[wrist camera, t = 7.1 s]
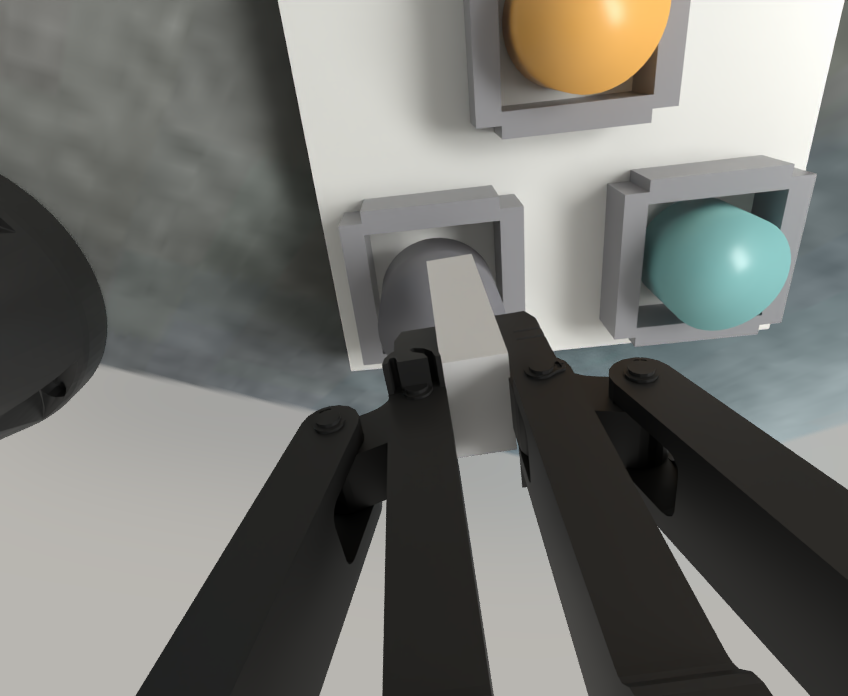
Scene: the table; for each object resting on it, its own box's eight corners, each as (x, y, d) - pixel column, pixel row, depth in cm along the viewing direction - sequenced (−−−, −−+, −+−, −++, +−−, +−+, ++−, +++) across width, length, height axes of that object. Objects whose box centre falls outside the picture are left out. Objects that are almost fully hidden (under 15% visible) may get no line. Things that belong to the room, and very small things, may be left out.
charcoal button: (390, 346, 25) (387, 387, 22) (374, 244, 23) (368, 273, 20) (496, 336, 25) (508, 375, 22) (491, 231, 23) (504, 259, 20)
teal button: (631, 303, 26) (660, 336, 23) (640, 202, 24) (674, 224, 21) (733, 293, 26) (776, 324, 23) (753, 190, 24) (803, 209, 21)
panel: (354, 352, 30) (346, 395, 26) (269, -95, 21) (237, -129, 17) (747, 312, 30) (797, 349, 26) (846, -169, 20) (947, -221, 16)
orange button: (504, 96, 22) (519, 102, 19) (499, -54, 19) (516, -75, 16) (627, 82, 22) (662, 86, 19) (637, -72, 19) (680, -96, 16)
